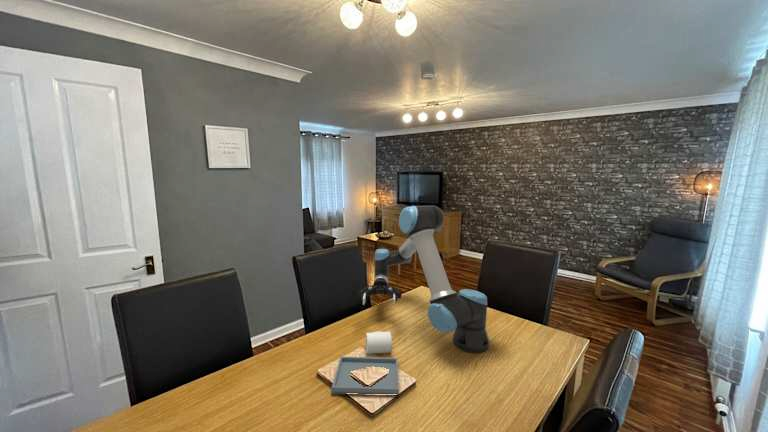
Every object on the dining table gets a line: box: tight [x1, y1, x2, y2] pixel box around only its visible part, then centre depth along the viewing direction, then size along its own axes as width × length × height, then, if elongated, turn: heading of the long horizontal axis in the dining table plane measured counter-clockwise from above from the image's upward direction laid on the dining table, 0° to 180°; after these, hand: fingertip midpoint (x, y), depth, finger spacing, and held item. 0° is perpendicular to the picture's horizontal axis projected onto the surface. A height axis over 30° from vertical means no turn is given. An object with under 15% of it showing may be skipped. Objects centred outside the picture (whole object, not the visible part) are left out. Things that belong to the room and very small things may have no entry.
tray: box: [331, 355, 400, 396], centre depth 107 cm, size 22×17×2 cm
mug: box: [365, 330, 393, 355], centre depth 125 cm, size 12×10×8 cm
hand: (378, 302), depth 133 cm, fingers open, 13 cm apart
